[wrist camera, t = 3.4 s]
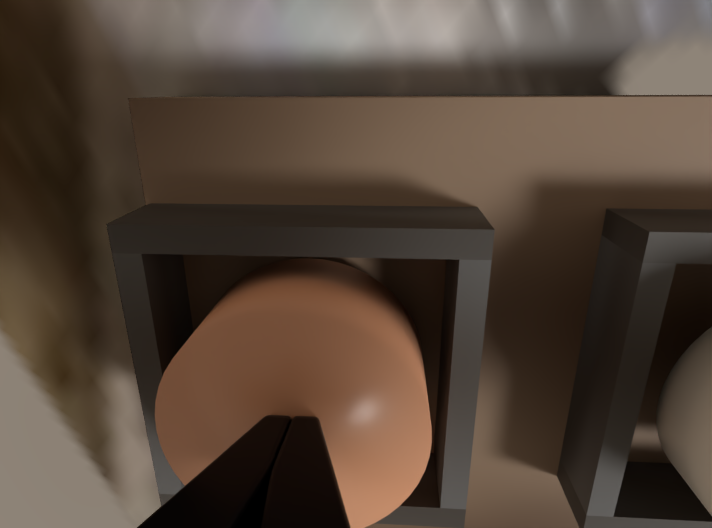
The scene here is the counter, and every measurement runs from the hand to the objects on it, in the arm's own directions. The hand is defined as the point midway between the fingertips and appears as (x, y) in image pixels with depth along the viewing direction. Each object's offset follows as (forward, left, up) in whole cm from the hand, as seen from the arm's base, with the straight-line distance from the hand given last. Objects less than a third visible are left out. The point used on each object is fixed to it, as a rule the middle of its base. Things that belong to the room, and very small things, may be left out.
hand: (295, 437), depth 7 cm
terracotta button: (0, 0, -2) cm, 2 cm away
